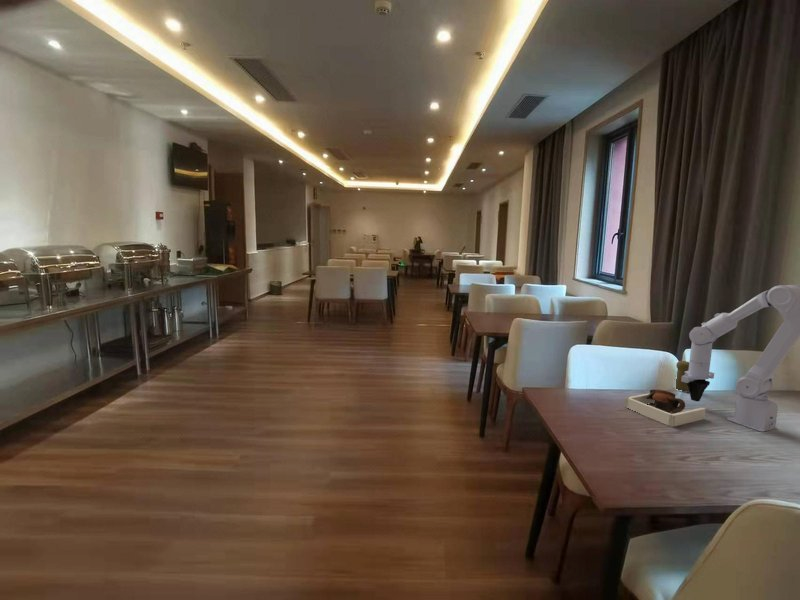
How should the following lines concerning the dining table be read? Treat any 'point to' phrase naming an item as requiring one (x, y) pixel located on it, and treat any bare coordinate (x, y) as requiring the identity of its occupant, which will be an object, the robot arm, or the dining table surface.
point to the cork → (681, 367)
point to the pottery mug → (666, 401)
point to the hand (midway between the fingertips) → (695, 400)
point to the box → (672, 420)
